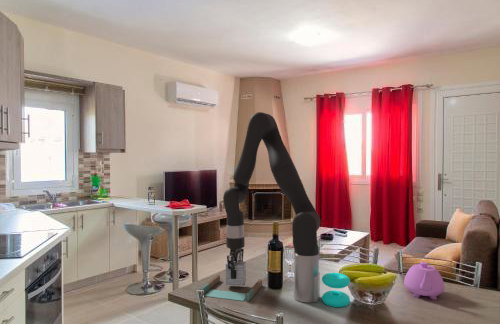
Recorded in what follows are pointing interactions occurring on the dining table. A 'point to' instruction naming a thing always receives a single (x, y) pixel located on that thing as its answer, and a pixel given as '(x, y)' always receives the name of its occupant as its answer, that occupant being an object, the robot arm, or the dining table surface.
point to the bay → (217, 279)
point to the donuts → (333, 296)
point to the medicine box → (237, 274)
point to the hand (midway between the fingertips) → (235, 276)
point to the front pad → (226, 295)
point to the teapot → (424, 281)
